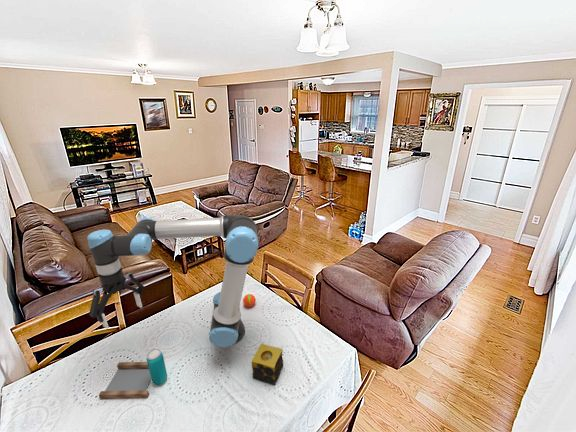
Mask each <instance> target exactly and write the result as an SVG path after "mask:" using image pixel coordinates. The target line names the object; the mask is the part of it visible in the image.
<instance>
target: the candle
mask: <svg viewBox="0 0 576 432" xmlns="http://www.w3.org/2000/svg"><path fill="white" fill-rule="evenodd" d="M251 367H252V368H251V369H252V373H251V375H252V379H254V380H257V381H259V382H263V383H266V384H269V385H272V386H276V383H277V381H278V379H279V377H280V374H281V370H282V369H283V368H284V358H283V348H280V347H276V346H271V345H269V344H265V343H260V345H259V346H258V348H257V350H256V353H255V354H254V355H253V357H252V359H251Z"/></svg>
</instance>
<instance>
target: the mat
mask: <svg viewBox="0 0 576 432" xmlns="http://www.w3.org/2000/svg"><path fill="white" fill-rule="evenodd" d="M116 370H117V371H116V372H115V373H114V375H113V377H112V378H111V380H110V382H109V383H108V385H107V387H106V389H105V390H104V391H132V390H148V388H149V385H150V383H151V382H152V379H151V375H150V371H149V369H129V370H118V369H116Z"/></svg>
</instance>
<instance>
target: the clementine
mask: <svg viewBox="0 0 576 432" xmlns="http://www.w3.org/2000/svg"><path fill="white" fill-rule="evenodd" d="M242 303H243V305H244V306H245V307H247V308H250V307H252V308H253V306H254V305H255V304H256V297H255V295H254V294H252V293H248V294H246V295H245V296H244V297H243V299H242Z"/></svg>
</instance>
